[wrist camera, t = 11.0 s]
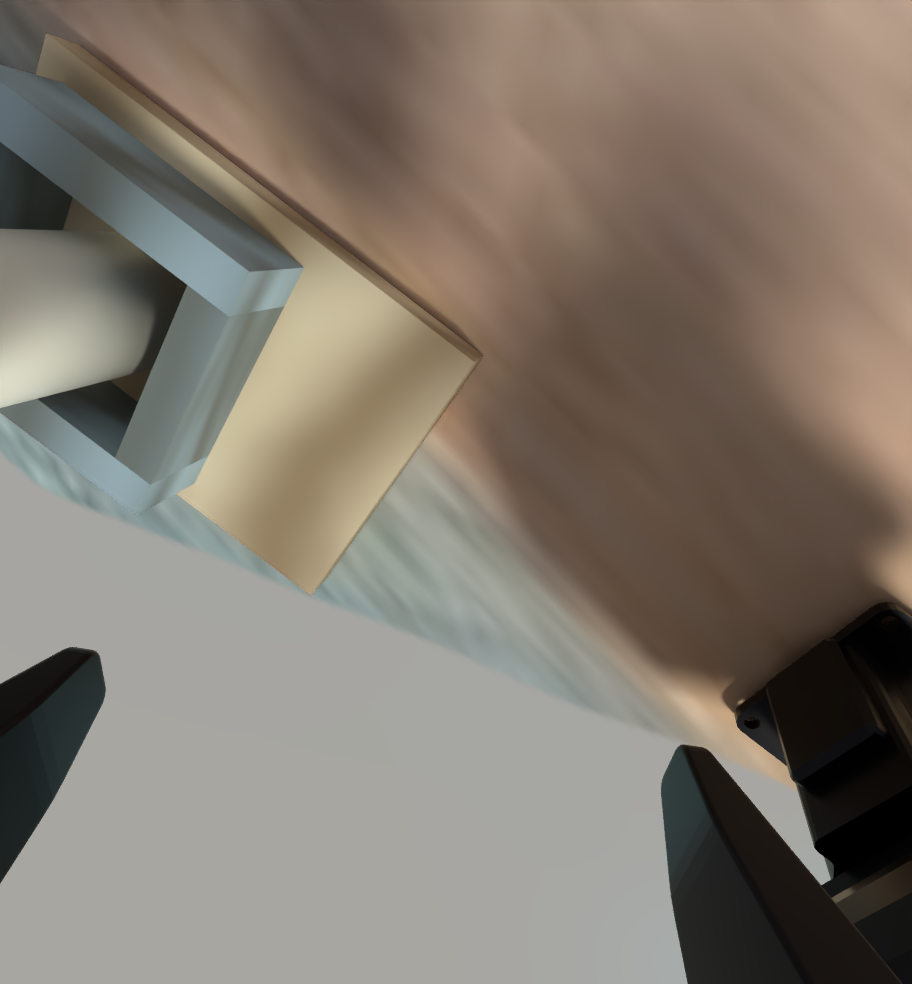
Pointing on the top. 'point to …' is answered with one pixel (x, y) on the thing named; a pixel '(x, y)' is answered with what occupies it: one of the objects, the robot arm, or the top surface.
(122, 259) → the cylinder
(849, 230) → the top surface
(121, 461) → the jig
